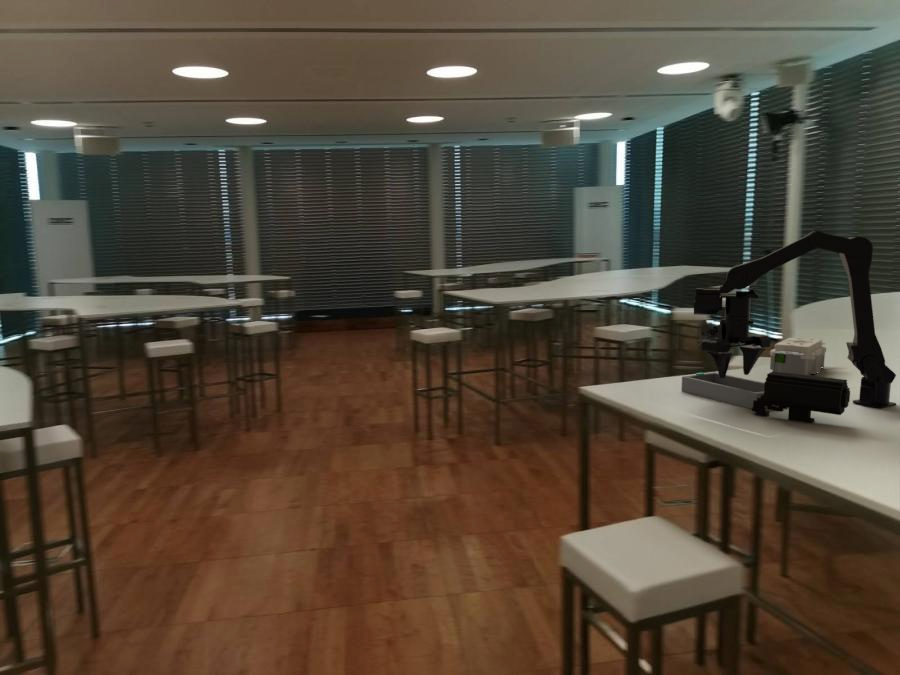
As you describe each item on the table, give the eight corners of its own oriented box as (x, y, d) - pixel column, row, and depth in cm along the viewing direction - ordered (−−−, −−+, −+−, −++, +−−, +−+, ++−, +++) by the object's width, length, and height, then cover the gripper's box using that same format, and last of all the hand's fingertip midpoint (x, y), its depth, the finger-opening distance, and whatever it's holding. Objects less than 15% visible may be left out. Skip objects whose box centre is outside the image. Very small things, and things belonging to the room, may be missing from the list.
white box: (761, 380, 180) (763, 346, 179) (788, 365, 201) (789, 335, 200) (807, 385, 172) (809, 349, 171) (829, 369, 193) (831, 338, 192)
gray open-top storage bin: (713, 386, 172) (714, 370, 172) (789, 404, 152) (790, 386, 151) (681, 391, 167) (682, 375, 167) (755, 410, 147) (756, 392, 146)
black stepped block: (758, 410, 147) (760, 368, 145) (849, 424, 134) (852, 379, 133) (748, 416, 142) (750, 373, 140) (841, 431, 129) (845, 384, 128)
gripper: (736, 311, 168) (733, 367, 170) (685, 315, 160) (683, 374, 162) (773, 314, 158) (769, 374, 160) (720, 319, 150) (717, 382, 152)
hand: (734, 376), depth 159 cm, fingers open, 8 cm apart
